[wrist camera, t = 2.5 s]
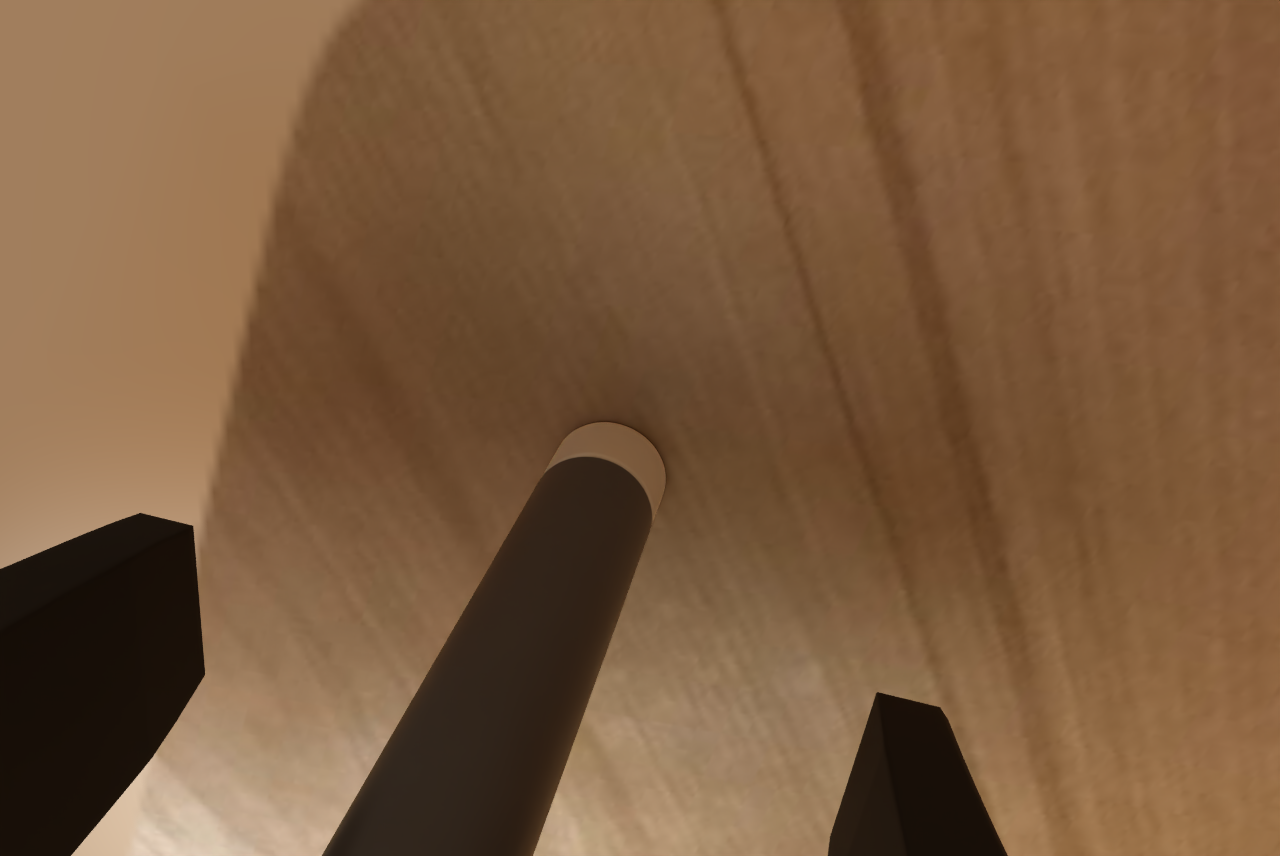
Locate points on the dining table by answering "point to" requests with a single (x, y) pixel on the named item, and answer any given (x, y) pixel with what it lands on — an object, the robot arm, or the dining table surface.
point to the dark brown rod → (516, 665)
